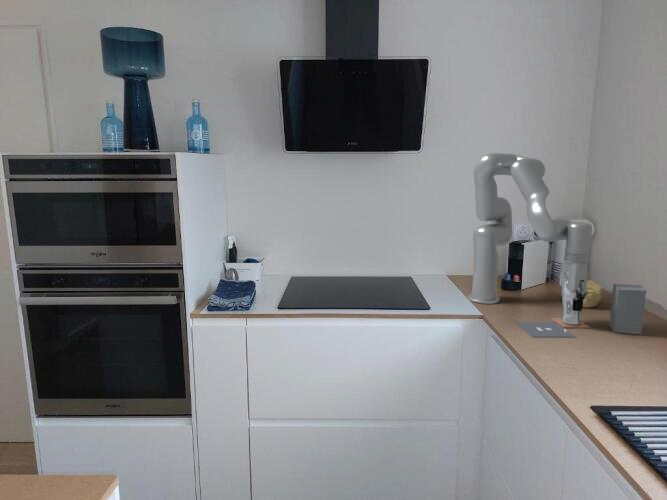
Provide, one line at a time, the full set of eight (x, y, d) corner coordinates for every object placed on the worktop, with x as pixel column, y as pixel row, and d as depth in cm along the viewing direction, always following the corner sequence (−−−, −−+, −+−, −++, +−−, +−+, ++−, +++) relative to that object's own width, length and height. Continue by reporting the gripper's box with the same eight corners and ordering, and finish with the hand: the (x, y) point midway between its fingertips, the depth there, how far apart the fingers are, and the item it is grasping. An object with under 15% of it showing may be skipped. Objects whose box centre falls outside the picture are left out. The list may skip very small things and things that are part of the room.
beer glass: (585, 325, 155) (587, 282, 153) (563, 324, 156) (565, 282, 154) (578, 320, 162) (580, 279, 160) (557, 319, 163) (559, 278, 161)
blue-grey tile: (515, 322, 161) (515, 322, 161) (554, 322, 161) (554, 322, 161) (532, 337, 147) (532, 336, 147) (575, 337, 147) (575, 336, 147)
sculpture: (568, 307, 178) (571, 281, 176) (565, 299, 189) (568, 274, 187) (601, 311, 174) (604, 284, 172) (596, 303, 185) (599, 277, 183)
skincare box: (635, 329, 155) (641, 284, 152) (641, 336, 148) (648, 289, 146) (607, 326, 158) (612, 282, 155) (612, 333, 151) (618, 287, 148)
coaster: (550, 319, 164) (551, 317, 164) (575, 319, 164) (575, 318, 164) (563, 328, 155) (563, 326, 155) (589, 328, 155) (589, 326, 155)
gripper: (553, 253, 164) (548, 299, 167) (579, 263, 147) (573, 315, 150) (573, 253, 164) (568, 299, 167) (602, 263, 147) (595, 315, 150)
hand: (571, 306), depth 159 cm, fingers open, 7 cm apart
